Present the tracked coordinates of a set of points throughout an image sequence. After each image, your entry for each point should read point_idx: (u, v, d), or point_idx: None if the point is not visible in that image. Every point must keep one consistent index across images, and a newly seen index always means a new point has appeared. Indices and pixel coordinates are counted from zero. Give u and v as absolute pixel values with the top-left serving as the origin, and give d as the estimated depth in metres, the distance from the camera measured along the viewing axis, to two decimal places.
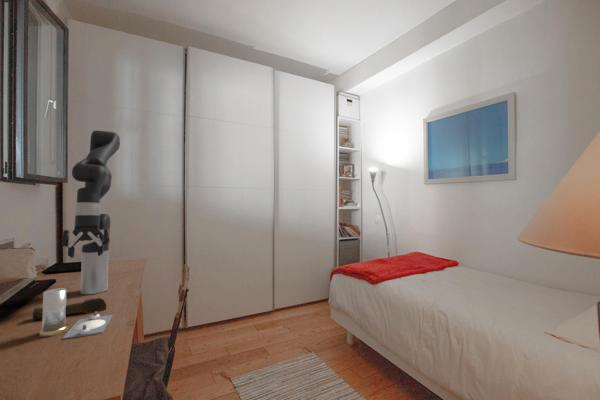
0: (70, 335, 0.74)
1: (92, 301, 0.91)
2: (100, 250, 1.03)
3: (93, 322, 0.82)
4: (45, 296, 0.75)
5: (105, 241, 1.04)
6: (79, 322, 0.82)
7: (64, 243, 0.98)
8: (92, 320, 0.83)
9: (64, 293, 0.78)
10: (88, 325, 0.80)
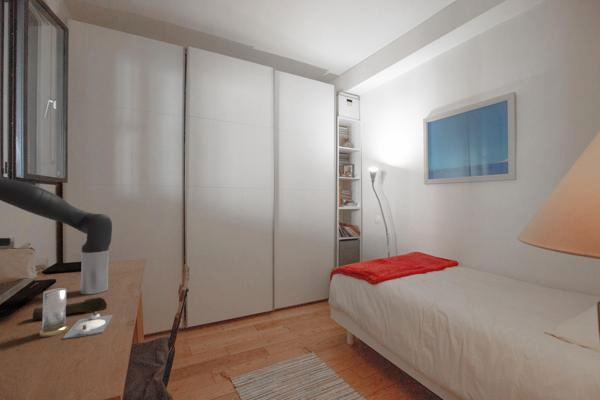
0: (70, 335, 0.74)
1: (92, 300, 0.92)
2: None
3: (93, 322, 0.82)
4: (45, 296, 0.75)
5: None
6: (79, 322, 0.82)
7: None
8: (92, 320, 0.83)
9: (64, 293, 0.78)
10: (88, 325, 0.80)
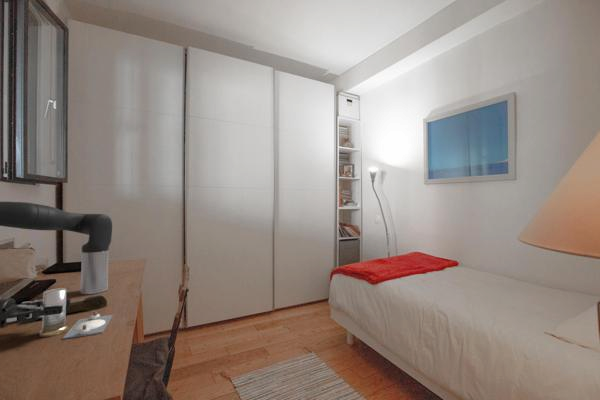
0: (70, 335, 0.74)
1: (94, 298, 0.93)
2: (52, 313, 0.74)
3: (93, 322, 0.82)
4: (45, 296, 0.75)
5: None
6: (79, 322, 0.82)
7: None
8: (92, 320, 0.83)
9: (64, 293, 0.77)
10: (88, 325, 0.80)
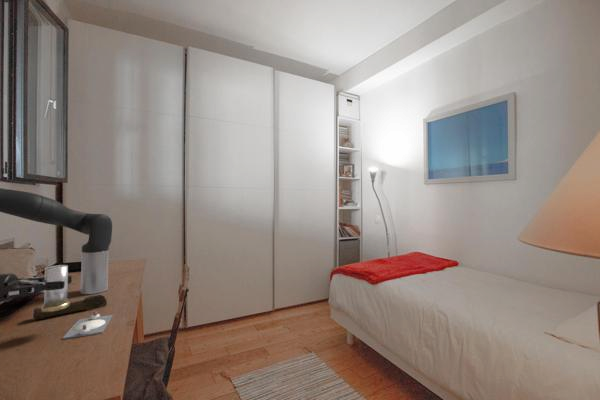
0: (70, 335, 0.74)
1: (94, 298, 0.94)
2: (54, 288, 0.75)
3: (93, 322, 0.82)
4: (47, 271, 0.75)
5: None
6: (79, 322, 0.82)
7: None
8: (92, 320, 0.83)
9: (65, 269, 0.78)
10: (88, 325, 0.80)
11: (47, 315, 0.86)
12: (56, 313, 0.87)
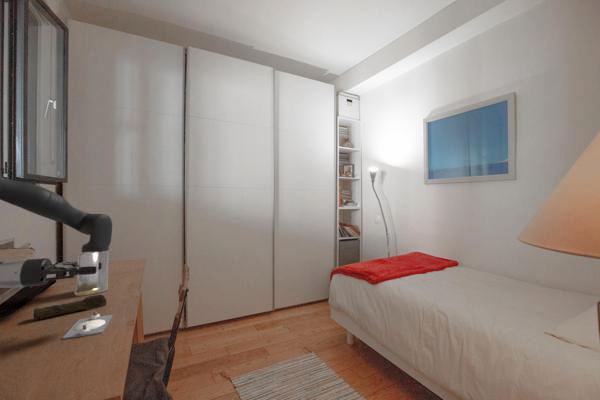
0: (70, 335, 0.74)
1: (94, 298, 0.94)
2: (87, 273, 0.78)
3: (93, 322, 0.82)
4: (80, 257, 0.78)
5: None
6: (79, 322, 0.82)
7: None
8: (92, 320, 0.83)
9: (97, 255, 0.81)
10: (88, 325, 0.80)
11: (47, 315, 0.86)
12: (56, 313, 0.87)
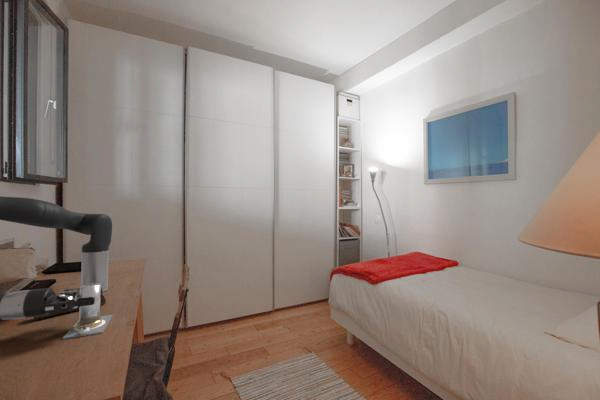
0: (70, 335, 0.74)
1: None
2: (85, 304, 0.76)
3: None
4: (82, 290, 0.78)
5: None
6: None
7: None
8: None
9: (99, 288, 0.81)
10: None
11: (48, 315, 0.86)
12: (57, 313, 0.87)
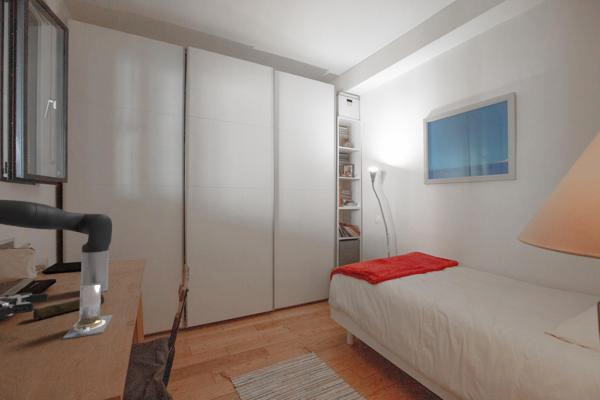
0: (70, 335, 0.74)
1: None
2: (22, 311, 0.71)
3: None
4: (82, 290, 0.78)
5: None
6: None
7: None
8: None
9: (99, 288, 0.81)
10: None
11: (48, 314, 0.86)
12: (57, 312, 0.88)
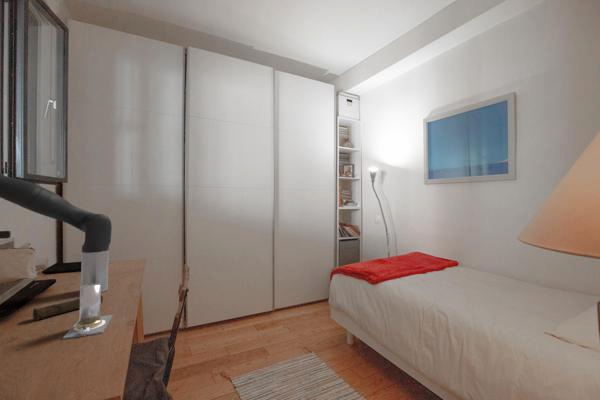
0: (70, 335, 0.74)
1: None
2: None
3: None
4: (82, 290, 0.78)
5: None
6: None
7: None
8: None
9: (99, 288, 0.81)
10: None
11: (48, 314, 0.86)
12: (57, 312, 0.88)
